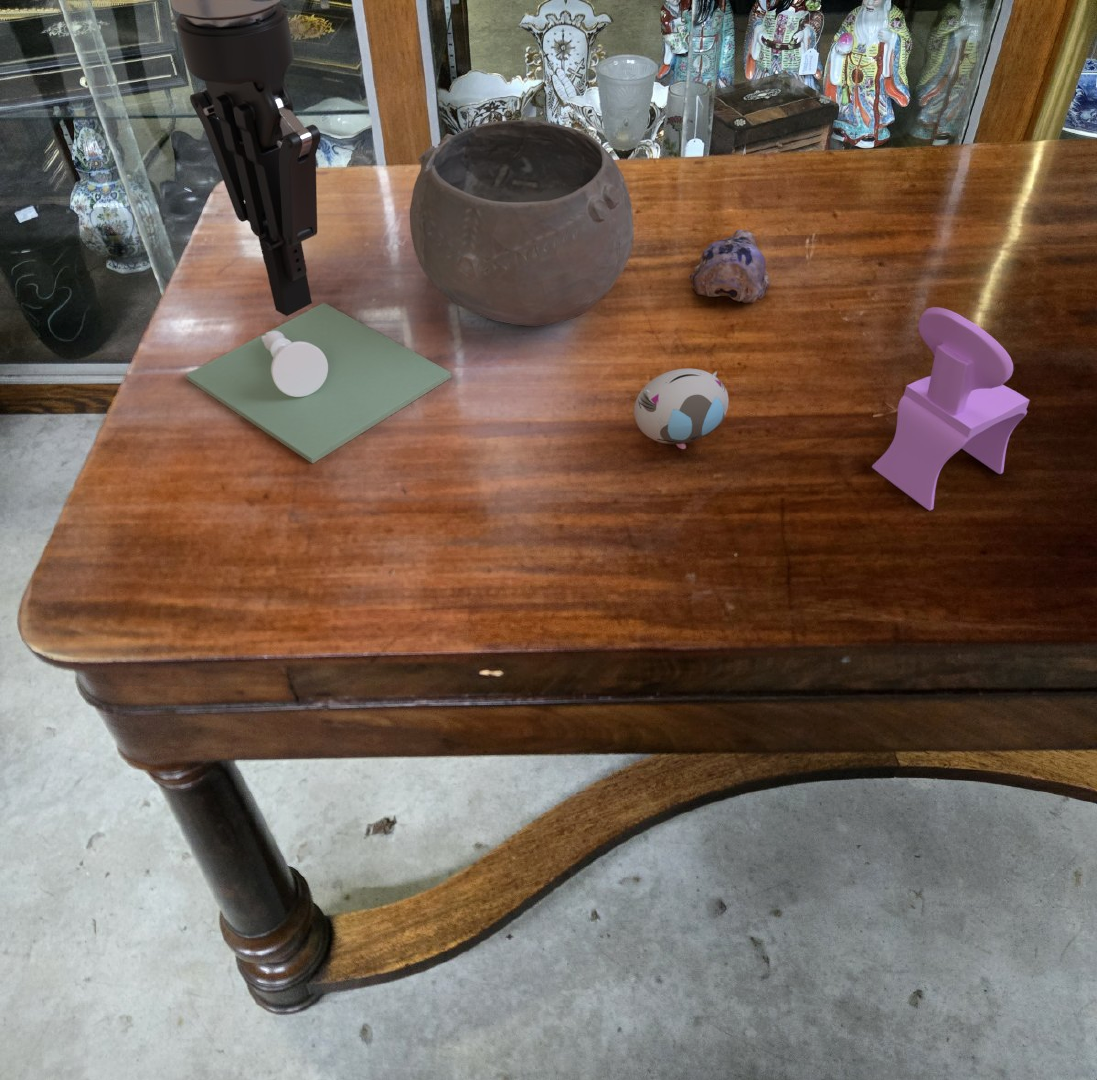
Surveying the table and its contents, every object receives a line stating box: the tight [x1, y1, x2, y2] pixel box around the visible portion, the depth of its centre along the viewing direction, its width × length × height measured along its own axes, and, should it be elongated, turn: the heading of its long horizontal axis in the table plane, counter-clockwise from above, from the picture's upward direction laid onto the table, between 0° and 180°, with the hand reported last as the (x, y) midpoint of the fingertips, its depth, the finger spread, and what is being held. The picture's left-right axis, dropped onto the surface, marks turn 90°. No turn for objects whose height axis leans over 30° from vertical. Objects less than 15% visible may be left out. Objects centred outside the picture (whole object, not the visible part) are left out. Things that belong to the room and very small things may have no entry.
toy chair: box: [871, 306, 1031, 512], centre depth 79 cm, size 8×9×15 cm
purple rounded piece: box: [689, 229, 772, 304], centre depth 103 cm, size 12×8×6 cm, turn 154°
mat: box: [185, 302, 452, 465], centre depth 94 cm, size 16×18×1 cm
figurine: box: [633, 367, 730, 450], centre depth 85 cm, size 8×6×7 cm
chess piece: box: [261, 331, 328, 397], centre depth 93 cm, size 5×5×10 cm
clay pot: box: [409, 119, 635, 327], centre depth 98 cm, size 21×21×15 cm
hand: (294, 306), depth 88 cm, fingers closed
